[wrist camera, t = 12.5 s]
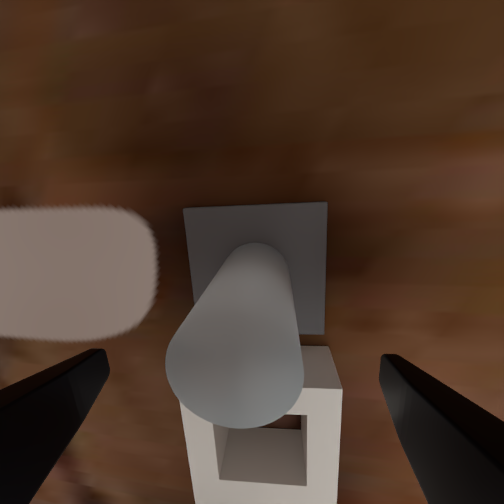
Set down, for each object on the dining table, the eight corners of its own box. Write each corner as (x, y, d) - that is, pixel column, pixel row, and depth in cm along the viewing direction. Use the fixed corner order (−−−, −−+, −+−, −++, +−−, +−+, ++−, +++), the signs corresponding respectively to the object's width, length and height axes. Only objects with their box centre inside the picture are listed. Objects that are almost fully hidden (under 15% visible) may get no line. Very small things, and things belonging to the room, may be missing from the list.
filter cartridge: (241, 314, 17) (206, 442, 9) (211, 259, 16) (139, 340, 8) (300, 290, 16) (326, 405, 8) (271, 231, 16) (264, 287, 7)
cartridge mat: (201, 327, 19) (197, 332, 18) (187, 207, 16) (182, 208, 16) (322, 328, 18) (324, 334, 17) (325, 201, 16) (327, 202, 15)
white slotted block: (216, 506, 24) (205, 568, 20) (196, 344, 19) (176, 383, 15) (323, 515, 23) (332, 583, 19) (328, 346, 18) (342, 389, 14)
